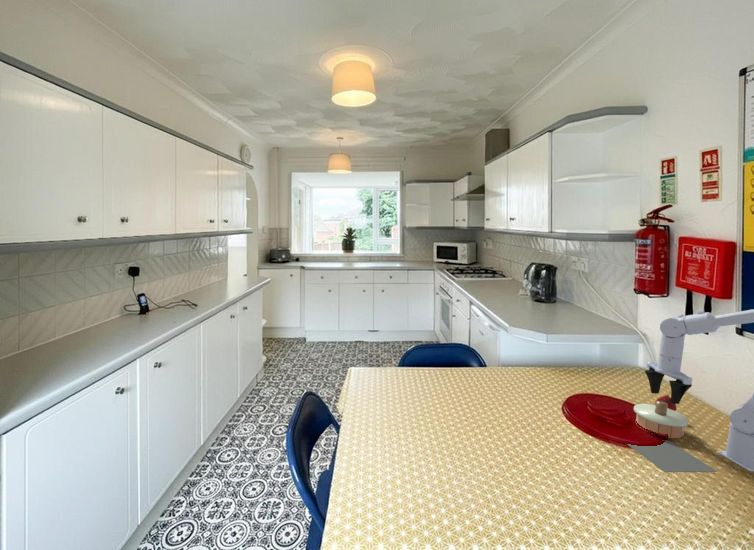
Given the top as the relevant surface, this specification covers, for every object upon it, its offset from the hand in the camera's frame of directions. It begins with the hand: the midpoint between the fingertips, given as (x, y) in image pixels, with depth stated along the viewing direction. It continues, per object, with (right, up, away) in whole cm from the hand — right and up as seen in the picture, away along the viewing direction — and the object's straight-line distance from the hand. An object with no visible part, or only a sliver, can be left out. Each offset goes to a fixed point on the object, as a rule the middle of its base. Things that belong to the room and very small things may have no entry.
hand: (664, 398), depth 121 cm
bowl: (-1, -10, +1) cm, 10 cm away
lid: (-1, -6, +1) cm, 6 cm away
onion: (+8, -10, +11) cm, 17 cm away
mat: (-11, -11, -15) cm, 21 cm away
